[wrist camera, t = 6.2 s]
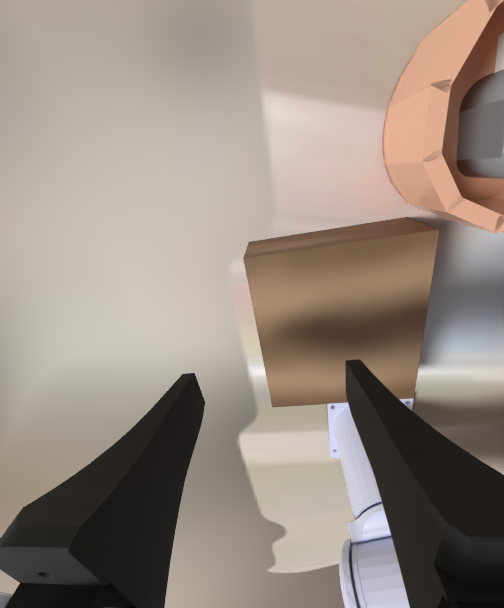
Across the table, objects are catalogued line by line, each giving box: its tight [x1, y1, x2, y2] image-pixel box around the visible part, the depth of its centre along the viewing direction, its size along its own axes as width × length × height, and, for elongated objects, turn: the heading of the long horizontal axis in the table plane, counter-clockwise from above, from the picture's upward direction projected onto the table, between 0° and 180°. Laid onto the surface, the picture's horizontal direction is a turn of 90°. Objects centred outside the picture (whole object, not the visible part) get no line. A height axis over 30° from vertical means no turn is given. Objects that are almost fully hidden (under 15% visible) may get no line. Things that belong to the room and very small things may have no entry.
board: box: [244, 217, 440, 407], centre depth 19 cm, size 13×11×4 cm
